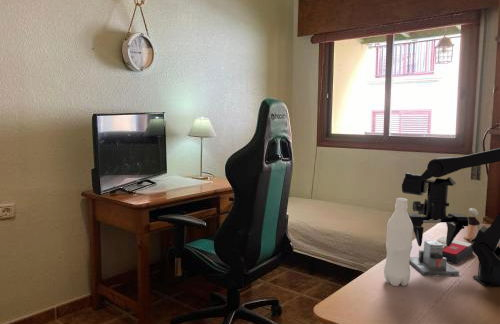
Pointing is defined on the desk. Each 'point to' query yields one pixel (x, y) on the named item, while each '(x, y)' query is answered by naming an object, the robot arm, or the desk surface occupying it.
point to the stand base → (433, 265)
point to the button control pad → (455, 250)
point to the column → (431, 250)
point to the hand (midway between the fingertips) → (433, 245)
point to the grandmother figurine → (472, 224)
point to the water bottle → (398, 245)
